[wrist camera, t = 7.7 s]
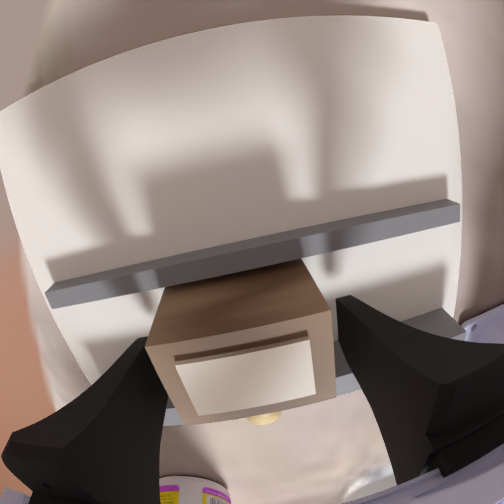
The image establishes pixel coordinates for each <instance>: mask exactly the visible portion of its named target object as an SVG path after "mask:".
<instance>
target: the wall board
mask: <svg viewBox="0 0 504 504" xmlns="http://www.w3.org/2000/svg"><path fill="white" fill-rule="evenodd" d="M0 169H1V174H2V178H3V181H4V186H5V190H6V193H7V197H8V201H9V204H10V208H11V211H12V214H13V218H14V221H15V224H16V227H17V230H18V233H19V236H20V239H21V242H22V245H23V247H24V250H25V253H26V256H27V258H28V261H29V263H30V266H31V268H32V271H33V273H34V276H35V278H36V281H37V283H38V285H39V288H40V290H41V292H42V295H43V297H44V299H45V301H46V303H47V305H48V308H49V310H50V312H51V314H52V316H53V318H54V320H55V322H56V324H57V326H58V328H59V330H60V332H61V334H62V336H63V338H64V340H65V341H66V343H67V345H68V347H69V349H70V351H71V352H72V354H73V356H74V358H75V360H76V361H77V363H78V365H79V366H80V368H81V370H82V371H83V373H84V375H85V376H86V378H87V380H88V381H89V383H90V385H92V384H94V383H95V382H96V381H97V380H98V379H99V378H100V377H101V376H102V375H103V374H104V373H105V372H106V371H107V370H108V369H109V368H110V367H111V366H112V365H113V363H114V362H115V361H116V360H117V359H118V358H119V357H120V356H121V355H122V354H123V353H124V352H125V351H126V349H127V348H128V347H129V346H130V345H131V344H132V343H133V342H134V341H135V340H136V339H138V338H140V337H147V336H148V335H149V332H150V329H151V326H152V323H153V320H154V317H155V314H156V311H157V308H158V305H159V303H160V300H161V297H162V294H163V291H164V288H165V287H168V286H173V285H178V284H183V283H188V282H193V281H198V280H202V279H207V278H212V277H217V276H222V275H226V274H231V273H236V272H241V271H245V270H250V269H255V268H259V267H264V266H269V265H273V264H278V263H282V262H287V261H292V260H296V259H302V260H303V262H304V264H305V266H306V267H307V269H308V271H309V272H310V274H311V276H312V278H313V279H314V281H315V283H316V285H317V286H318V288H319V290H320V292H321V293H322V295H323V297H324V299H325V300H326V302H327V304H328V306H329V307H330V309H331V317H332V329H333V343H334V359H335V377H336V396H339V395H342V394H346V393H349V392H353V391H356V390H359V389H361V387H360V385H359V383H358V382H357V380H356V378H355V376H354V374H353V372H352V371H351V369H350V367H349V365H348V363H347V361H346V359H345V356H344V354H343V351H342V349H341V346H340V343H339V341H338V326H337V312H336V298H340V297H344V296H348V295H352V296H354V297H356V298H357V299H359V300H361V301H362V302H364V303H366V304H368V305H369V306H371V307H373V308H375V309H376V310H378V311H380V312H382V313H384V314H386V315H387V316H389V317H391V318H393V319H395V320H398V321H400V322H402V323H404V324H406V325H409V326H411V327H414V328H416V329H419V330H422V331H425V332H428V333H431V334H435V335H438V336H442V337H447V338H451V339H456V340H462V341H465V337H466V332H467V331H466V330H465V329H464V328H463V327H462V326H461V325H460V324H459V323H457V322H456V321H455V320H454V319H453V317H454V310H455V303H456V296H457V288H458V279H459V268H460V256H461V239H462V171H461V155H460V142H459V132H458V123H457V115H456V108H455V101H454V95H453V89H452V83H451V78H450V73H449V68H448V63H447V59H446V54H445V50H444V46H443V42H442V38H441V34H440V31H439V27H438V24H437V23H434V22H428V21H420V20H412V19H403V18H393V17H379V16H355V15H327V16H303V17H288V18H277V19H268V20H260V21H252V22H245V23H238V24H232V25H227V26H221V27H216V28H211V29H206V30H201V31H197V32H192V33H188V34H184V35H180V36H176V37H172V38H168V39H165V40H161V41H158V42H154V43H151V44H148V45H144V46H141V47H138V48H135V49H132V50H129V51H126V52H123V53H120V54H118V55H115V56H112V57H109V58H107V59H104V60H102V61H99V62H97V63H94V64H92V65H89V66H87V67H84V68H82V69H80V70H77V71H75V72H73V73H71V74H69V75H66V76H64V77H62V78H60V79H58V80H56V81H54V82H52V83H50V84H48V85H46V86H44V87H42V88H40V89H38V90H36V91H34V92H32V93H30V94H29V95H27V96H25V97H23V98H21V99H20V100H18V101H16V102H14V103H13V104H11V105H9V106H8V107H6V108H5V109H3V110H1V111H0ZM280 415H281V411H277V412H272V413H267V414H262V415H257V416H251V417H247V419H248V420H249V421H250V422H251V423H254V424H257V425H266V424H270V423H273V422H274V421H276V420H277V419H278V418H279V417H280ZM174 425H184V423H183V421H182V419H181V418H180V416H179V414H178V412H177V410H176V408H175V407H174V405H173V403H172V401H171V399H170V397H169V395H168V401H167V407H166V412H165V418H164V423H163V426H174Z"/></svg>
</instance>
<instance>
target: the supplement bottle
mask: <svg viewBox="0 0 504 504" xmlns="http://www.w3.org/2000/svg"><path fill="white" fill-rule="evenodd" d="M159 487H160V502H161V504H231V500H230V495H229V493H228V491H227V490H226V489H225V488H224V487H223V486H222V485H220V484H218V483H216V482H213V481H211V480H207V479H203V478H198V477H190V476H168V477H163V478H160V479H159Z"/></svg>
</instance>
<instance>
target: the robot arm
mask: <svg viewBox="0 0 504 504" xmlns="http://www.w3.org/2000/svg"><path fill="white" fill-rule="evenodd" d="M336 312H337V326H338V341H339V343H340V346H341V349H342V351H343V354H344V356H345V359H346V361H347V363H348V365H349V367H350V369H351V371H352V372H353V374H354V376H355V378H356V380H357V382H358V383H359V385H360V387H361V389H362V391H363V393H364V394H365V396H366V398H367V400H368V402H369V404H370V406H371V408H372V410H373V413H374V415H375V418H376V421H377V423H378V426H379V429H380V431H381V434H382V437H383V440H384V443H385V446H386V449H387V452H388V455H389V458H390V462H391V465H392V468H393V472H394V475H395V479H396V483H397V486H395V487H392V488H389V489H386V490H384V491H381V492H378V493H375V494H372V495H369V496H366V497H363V498H360V499H357V500H353V501H350V502H346V503H343V504H504V304H502V305H500V306H498V307H496V308H494V309H492V310H489V311H487V312H485V313H483V314H481V315H478V316H476V317H474V318H472V319H469V320H467V321H465V322H464V323H463V324H462V325H461V326H462V327H463V328H464V329H465V330H466V331H467V332H466V337H465V341H462V340H456V339H451V338H447V337H442V336H438V335H435V334H431V333H428V332H425V331H422V330H419V329H416V328H414V327H411V326H409V325H406V324H404V323H402V322H400V321H398V320H395V319H393V318H391V317H389V316H387V315H386V314H384V313H382V312H380V311H378V310H376V309H375V308H373V307H371V306H369V305H368V304H366V303H364V302H362V301H361V300H359V299H357V298H356V297H354V296H352V295H348V296H344V297H340V298H336ZM147 338H148V336H147V337H140V338H138V339H136V340H135V341H134V342H133V343H132V344H131V345H130V346H129V347H128V348H127V349H126V351H125V352H124V353H123V354H122V355H121V356H120V357H119V358H118V359H117V360H116V361H115V362H114V363H113V365H112V366H111V367H110V368H109V369H108V370H107V371H106V372H105V373H104V374H103V375H102V376H101V377H100V378H99V379H98V380H97V381H96V382H95V383H94V384H92V385H91V386H90V387H89V388H88V389H87V390H86V391H84V392H83V393H82V394H81V395H79V396H78V397H77V398H76V399H74V400H73V401H72V402H70V403H69V404H67V405H66V406H64V407H63V408H61V409H60V410H58V411H57V412H55V413H53V414H52V415H50V416H48V417H46V418H44V419H42V420H41V421H39V422H37V423H35V424H32V425H30V426H28V427H25V428H23V429H20V430H18V431H15V432H13V433H12V434H11V436H10V438H9V440H8V442H7V445H6V447H5V449H4V451H3V453H2V456H1V457H2V460H3V462H4V464H5V465H6V467H7V468H8V469H9V470H10V471H11V472H12V473H13V474H14V475H15V476H16V477H17V478H18V479H19V480H20V481H22V482H23V483H24V484H25V485H26V486H28V488H30V489H31V490H32V491H33V493H32V496H31V497H29V496H28V495H26V494H23V493H21V492H18V491H15V490H11V489H8V488H4V491H3V493H2V496H1V499H0V504H161V502H160V487H159V454H160V441H161V435H162V429H163V423H164V418H165V412H166V407H167V401H168V394H167V392H166V390H165V388H164V386H163V384H162V382H161V380H160V378H159V376H158V374H157V372H156V370H155V368H154V366H153V364H152V362H151V359H150V357H149V355H148V353H147V351H146V349H145V344H146V341H147Z"/></svg>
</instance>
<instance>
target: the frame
mask: <svg viewBox="0 0 504 504" xmlns="http://www.w3.org/2000/svg"><path fill="white" fill-rule="evenodd" d="M145 349H146V351H147V353H148V355H149V357H150V359H151V362H152V364H153V366H154V368H155V370H156V372H157V374H158V376H159V378H160V380H161V382H162V384H163V386H164V388H165V390H166V392H167V394H168V395H169V397H170V399H171V401H172V403H173V405H174V407H175V408H176V410H177V412H178V414H179V416H180V418H181V419H182V421H183V423H184V425H195V424H204V423H212V422H219V421H226V420H233V419H239V418H245V417H251V416H257V415H262V414H267V413H272V412H277V411H282V410H287V409H291V408H296V407H300V406H304V405H309V404H313V403H317V402H321V401H324V400H328V399H332V398H336V377H335V359H334V343H333V329H332V317H331V309H330V307H329V306H328V304H327V302H326V300H325V299H324V297H323V295H322V293H321V292H320V290H319V288H318V286H317V285H316V283H315V281H314V279H313V278H312V276H311V274H310V272H309V271H308V269H307V267H306V266H305V264H304V262H303V260H302V259H296V260H292V261H287V262H282V263H278V264H273V265H269V266H264V267H259V268H255V269H250V270H245V271H241V272H236V273H231V274H226V275H222V276H217V277H212V278H207V279H202V280H198V281H193V282H188V283H183V284H178V285H173V286H168V287H165V288H164V291H163V294H162V297H161V300H160V303H159V305H158V308H157V311H156V314H155V317H154V320H153V323H152V326H151V329H150V332H149V335H148V338H147V341H146V344H145Z"/></svg>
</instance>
